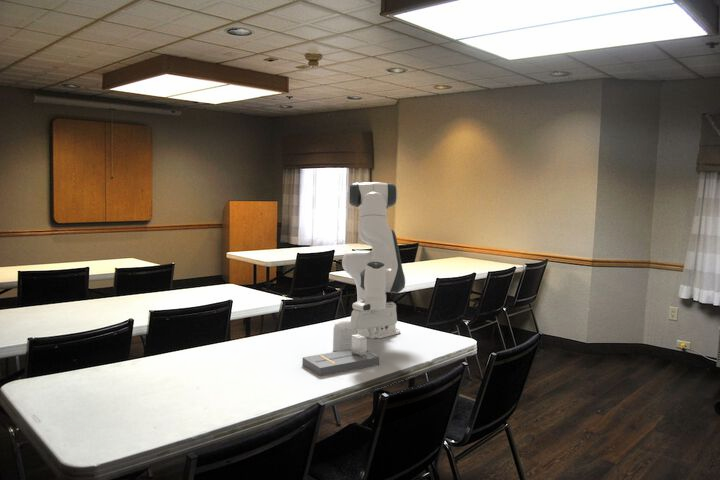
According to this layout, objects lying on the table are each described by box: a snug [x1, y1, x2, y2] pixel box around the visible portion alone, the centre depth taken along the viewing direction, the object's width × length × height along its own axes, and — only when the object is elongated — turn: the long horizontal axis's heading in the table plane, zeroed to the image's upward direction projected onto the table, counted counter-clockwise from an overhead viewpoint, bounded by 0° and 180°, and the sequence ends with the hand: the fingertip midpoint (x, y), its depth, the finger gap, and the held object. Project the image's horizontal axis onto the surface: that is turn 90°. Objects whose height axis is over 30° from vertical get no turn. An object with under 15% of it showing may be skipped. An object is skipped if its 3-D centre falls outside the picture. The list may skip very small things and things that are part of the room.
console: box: [301, 349, 381, 377], centre depth 207 cm, size 26×14×3 cm, turn 123°
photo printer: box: [332, 320, 358, 352], centre depth 225 cm, size 10×4×12 cm, turn 98°
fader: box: [351, 334, 368, 356], centre depth 211 cm, size 3×6×7 cm, turn 33°
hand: (374, 338), depth 214 cm, fingers closed
